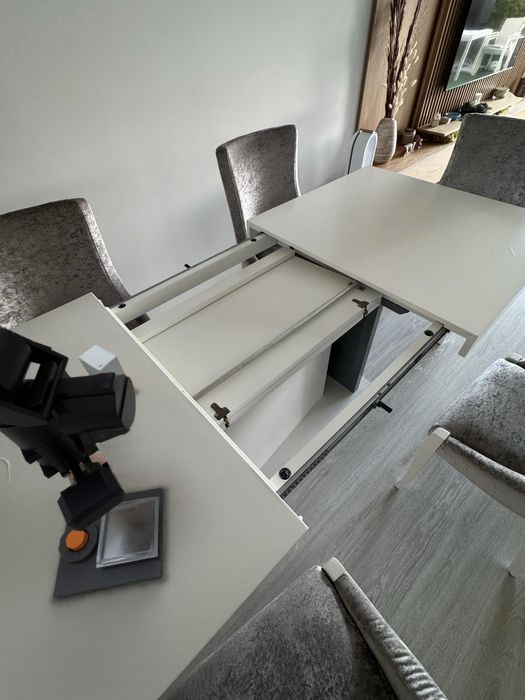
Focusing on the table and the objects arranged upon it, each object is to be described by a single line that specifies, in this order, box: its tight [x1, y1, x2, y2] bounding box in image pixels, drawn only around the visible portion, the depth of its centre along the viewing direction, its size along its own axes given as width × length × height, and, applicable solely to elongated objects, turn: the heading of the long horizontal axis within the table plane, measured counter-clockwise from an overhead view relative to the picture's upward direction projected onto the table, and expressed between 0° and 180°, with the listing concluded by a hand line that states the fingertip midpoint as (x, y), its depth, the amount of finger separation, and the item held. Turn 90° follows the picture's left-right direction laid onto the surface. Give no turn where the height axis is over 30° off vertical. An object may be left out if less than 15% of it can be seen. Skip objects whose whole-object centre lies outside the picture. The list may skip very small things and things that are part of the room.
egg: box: [67, 452, 111, 485], centre depth 48 cm, size 5×5×7 cm
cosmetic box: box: [78, 344, 127, 376], centre depth 69 cm, size 6×4×12 cm
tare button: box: [66, 530, 88, 550], centre depth 52 cm, size 3×3×2 cm
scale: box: [52, 487, 165, 599], centre depth 54 cm, size 15×13×3 cm
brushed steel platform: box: [96, 497, 159, 568], centre depth 53 cm, size 9×9×1 cm
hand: (94, 477), depth 50 cm, fingers closed on egg, 5 cm apart
